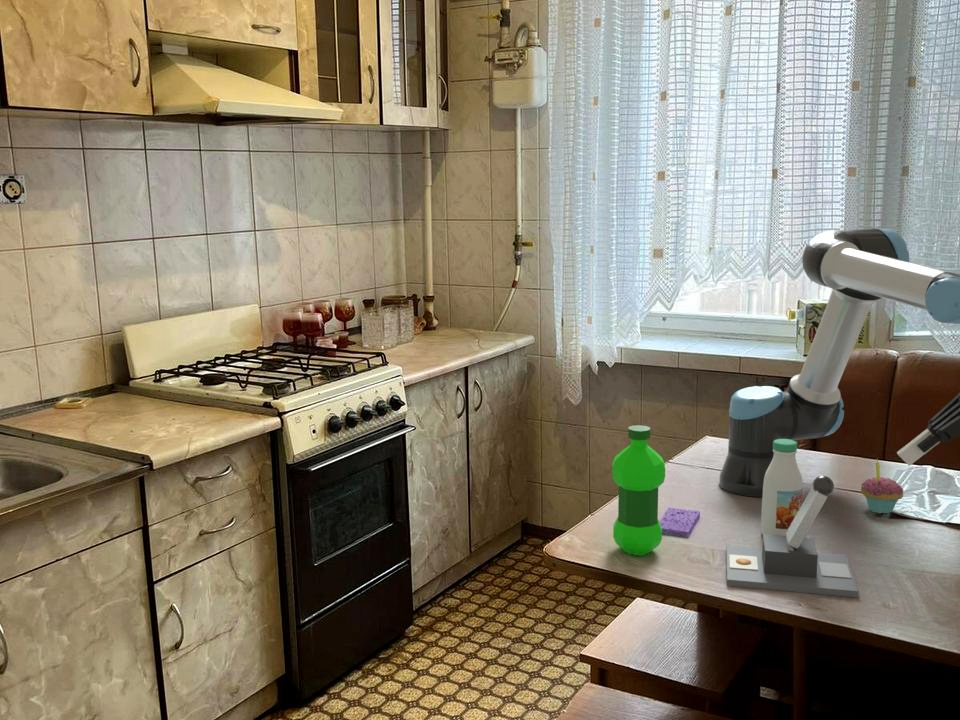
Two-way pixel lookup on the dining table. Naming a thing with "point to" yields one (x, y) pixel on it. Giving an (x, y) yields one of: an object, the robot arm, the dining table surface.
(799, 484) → the milk bottle
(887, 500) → the cupcake
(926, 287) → the robot arm
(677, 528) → the sponges
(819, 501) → the toggle lever
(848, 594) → the switch board
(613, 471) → the plastic bottle
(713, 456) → the dining table surface
